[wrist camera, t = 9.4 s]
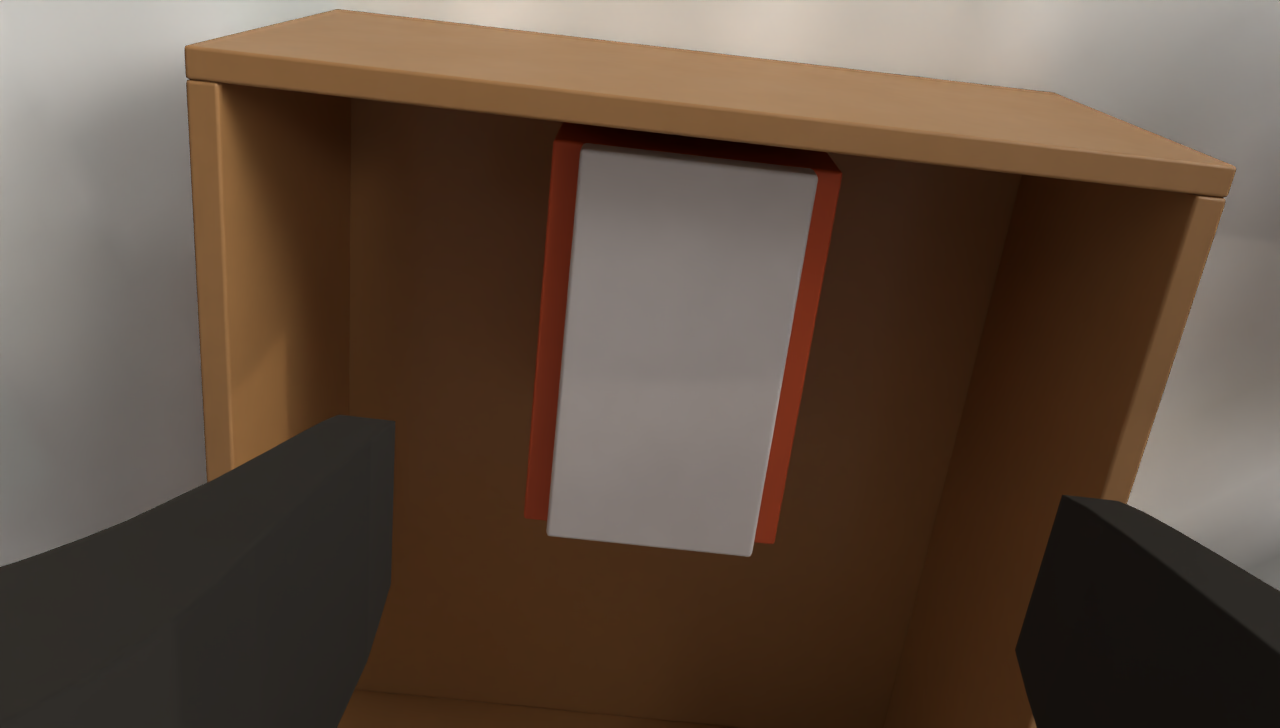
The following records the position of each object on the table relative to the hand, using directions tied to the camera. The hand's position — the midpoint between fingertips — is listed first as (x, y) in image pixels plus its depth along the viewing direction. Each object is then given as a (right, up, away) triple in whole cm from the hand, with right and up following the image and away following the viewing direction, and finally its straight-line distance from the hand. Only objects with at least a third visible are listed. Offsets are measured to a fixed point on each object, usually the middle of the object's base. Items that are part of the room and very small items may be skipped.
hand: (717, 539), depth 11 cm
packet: (0, +4, +8) cm, 9 cm away
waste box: (-1, +1, +10) cm, 10 cm away
